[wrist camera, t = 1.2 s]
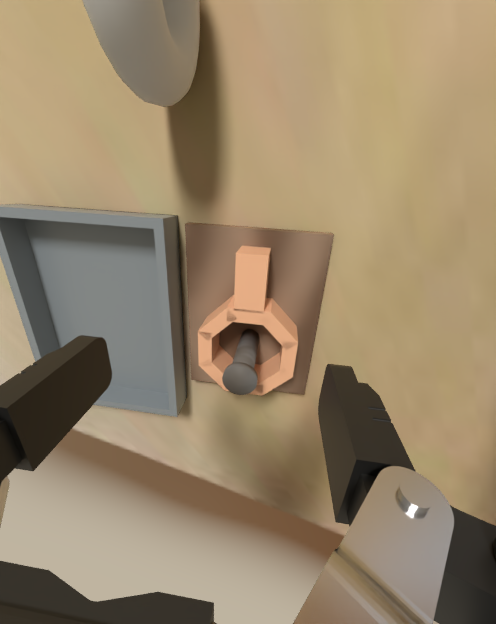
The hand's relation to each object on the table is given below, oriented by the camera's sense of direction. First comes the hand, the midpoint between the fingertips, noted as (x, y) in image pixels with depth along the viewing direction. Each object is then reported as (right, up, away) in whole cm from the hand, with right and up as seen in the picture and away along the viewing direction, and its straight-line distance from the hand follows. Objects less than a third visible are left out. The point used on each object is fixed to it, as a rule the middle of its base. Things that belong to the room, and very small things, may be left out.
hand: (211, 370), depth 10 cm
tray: (-13, +2, +18) cm, 22 cm away
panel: (+2, +2, +16) cm, 16 cm away
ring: (+2, +2, +15) cm, 15 cm away
